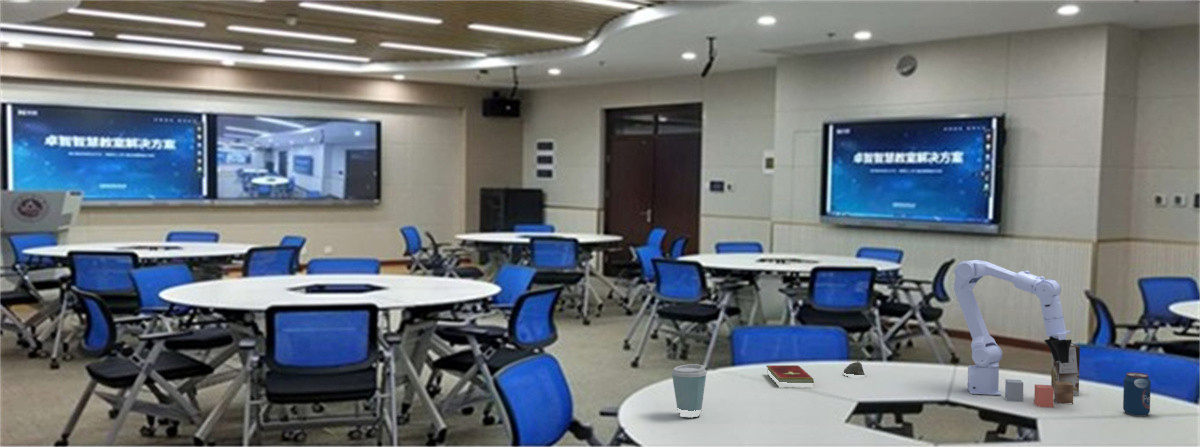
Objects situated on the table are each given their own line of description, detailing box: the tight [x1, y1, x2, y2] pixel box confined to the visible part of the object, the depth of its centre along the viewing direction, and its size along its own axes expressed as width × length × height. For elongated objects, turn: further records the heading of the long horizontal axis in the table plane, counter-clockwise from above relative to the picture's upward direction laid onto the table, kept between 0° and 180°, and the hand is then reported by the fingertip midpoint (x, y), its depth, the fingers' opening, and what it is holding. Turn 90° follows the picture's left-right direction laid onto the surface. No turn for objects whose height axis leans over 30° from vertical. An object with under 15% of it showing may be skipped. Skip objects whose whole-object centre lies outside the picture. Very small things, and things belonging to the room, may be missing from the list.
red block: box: [1033, 384, 1054, 408], centre depth 284 cm, size 4×4×6 cm
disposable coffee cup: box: [671, 363, 708, 411], centre depth 273 cm, size 11×11×15 cm
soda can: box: [1122, 371, 1151, 417], centre depth 273 cm, size 7×7×12 cm
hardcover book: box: [766, 364, 815, 384], centre depth 319 cm, size 12×21×4 cm, turn 1°
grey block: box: [1004, 378, 1024, 402], centre depth 292 cm, size 4×4×6 cm
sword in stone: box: [843, 345, 866, 376], centre depth 328 cm, size 10×8×12 cm
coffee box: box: [1050, 342, 1081, 397], centre depth 301 cm, size 9×6×16 cm
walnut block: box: [1053, 381, 1074, 405], centre depth 288 cm, size 4×4×6 cm
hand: (1061, 361), depth 284 cm, fingers open, 7 cm apart
